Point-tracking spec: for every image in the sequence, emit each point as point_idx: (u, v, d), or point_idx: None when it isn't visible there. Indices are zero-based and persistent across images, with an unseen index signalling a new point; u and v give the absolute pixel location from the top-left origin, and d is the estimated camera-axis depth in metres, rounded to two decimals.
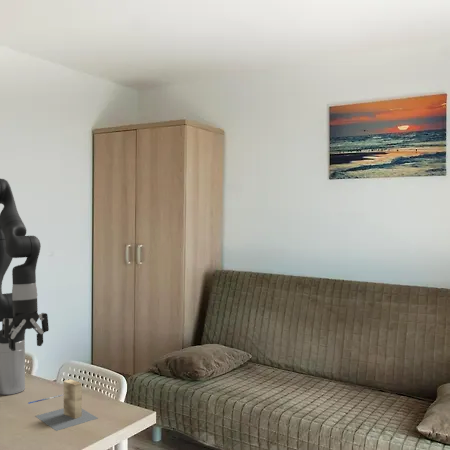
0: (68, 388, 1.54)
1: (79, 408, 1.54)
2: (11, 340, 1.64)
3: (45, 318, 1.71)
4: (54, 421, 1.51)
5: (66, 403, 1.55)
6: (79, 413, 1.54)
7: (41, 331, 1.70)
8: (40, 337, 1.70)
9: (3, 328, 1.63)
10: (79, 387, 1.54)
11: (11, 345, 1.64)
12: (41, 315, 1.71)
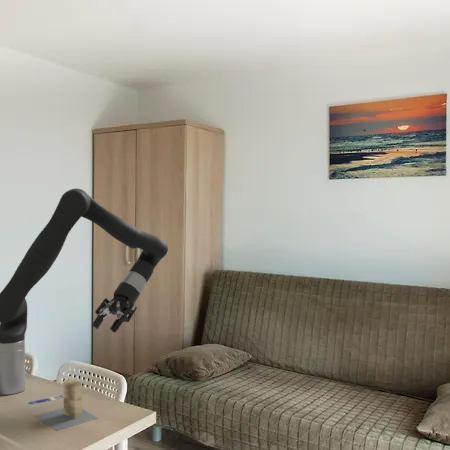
0: (68, 388, 1.54)
1: (79, 408, 1.54)
2: None
3: None
4: (54, 421, 1.51)
5: (66, 403, 1.55)
6: (79, 413, 1.54)
7: None
8: None
9: (130, 312, 1.63)
10: (79, 387, 1.54)
11: None
12: None
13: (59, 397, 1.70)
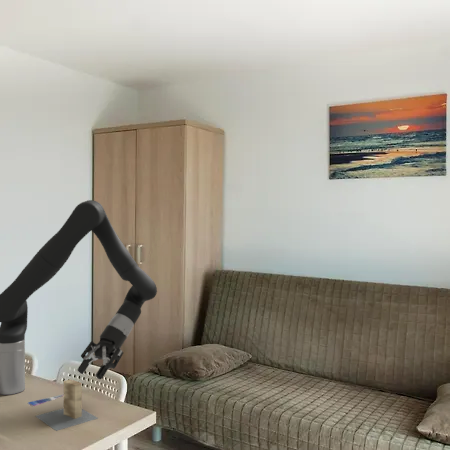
0: (68, 388, 1.54)
1: (79, 408, 1.54)
2: None
3: None
4: (54, 421, 1.51)
5: (66, 403, 1.55)
6: (79, 413, 1.54)
7: None
8: None
9: (117, 358, 1.59)
10: (79, 387, 1.54)
11: None
12: None
13: (59, 397, 1.70)
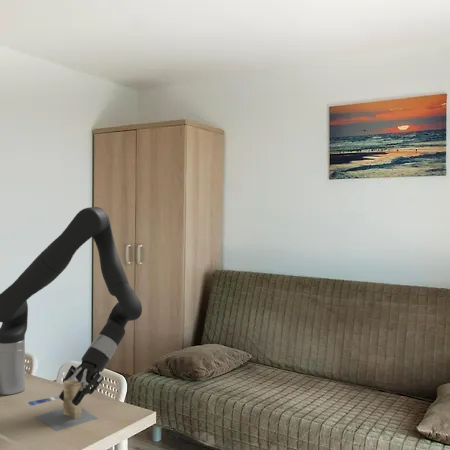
0: (68, 388, 1.54)
1: (79, 408, 1.54)
2: None
3: None
4: (54, 421, 1.51)
5: (66, 403, 1.55)
6: (79, 413, 1.54)
7: None
8: None
9: (95, 384, 1.54)
10: (79, 387, 1.54)
11: None
12: None
13: None
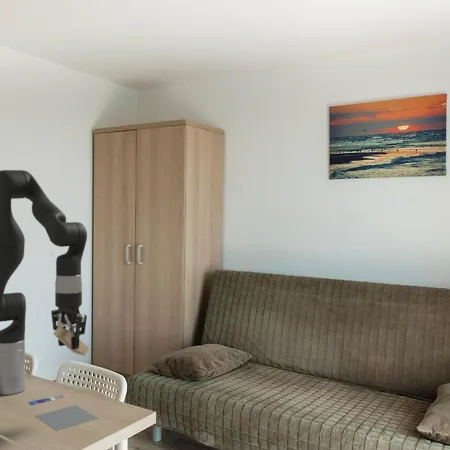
0: (61, 338, 1.52)
1: (82, 346, 1.55)
2: None
3: None
4: (54, 421, 1.51)
5: (69, 346, 1.56)
6: (85, 349, 1.55)
7: None
8: None
9: (82, 326, 1.50)
10: (70, 334, 1.51)
11: None
12: None
13: (59, 397, 1.70)
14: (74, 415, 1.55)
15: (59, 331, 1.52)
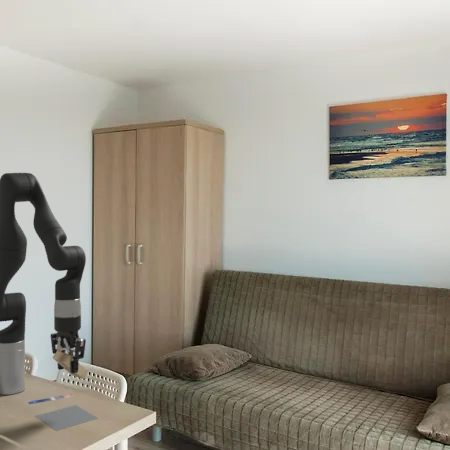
0: (60, 362, 1.52)
1: (81, 370, 1.54)
2: None
3: None
4: (54, 421, 1.51)
5: (68, 370, 1.55)
6: (84, 372, 1.55)
7: None
8: None
9: (81, 350, 1.50)
10: (69, 358, 1.51)
11: None
12: None
13: (59, 397, 1.70)
14: (74, 415, 1.55)
15: (58, 355, 1.52)
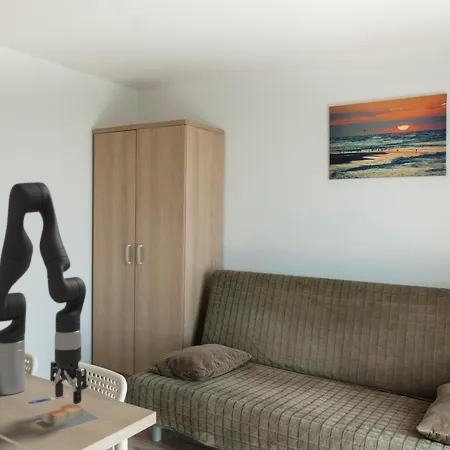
0: None
1: (75, 412, 1.53)
2: None
3: None
4: None
5: None
6: (80, 410, 1.55)
7: None
8: None
9: (83, 380, 1.50)
10: (57, 419, 1.49)
11: None
12: None
13: (59, 397, 1.70)
14: None
15: (46, 418, 1.50)
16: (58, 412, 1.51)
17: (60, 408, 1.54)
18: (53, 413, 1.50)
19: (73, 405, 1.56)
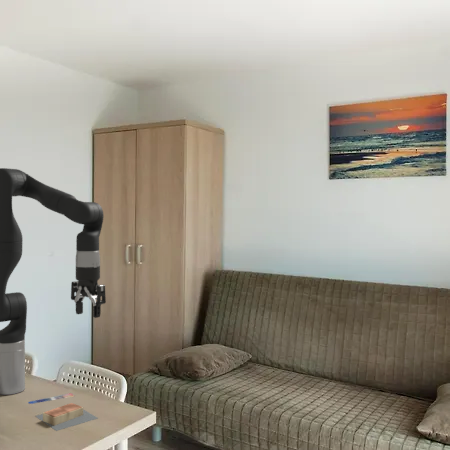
0: None
1: (75, 412, 1.53)
2: None
3: None
4: None
5: None
6: (80, 410, 1.55)
7: None
8: None
9: (102, 294, 1.62)
10: (57, 419, 1.49)
11: None
12: None
13: (59, 397, 1.70)
14: None
15: (46, 418, 1.50)
16: (58, 412, 1.51)
17: (60, 408, 1.54)
18: (53, 413, 1.50)
19: (73, 405, 1.56)
